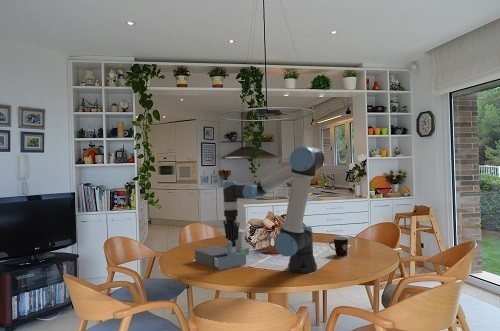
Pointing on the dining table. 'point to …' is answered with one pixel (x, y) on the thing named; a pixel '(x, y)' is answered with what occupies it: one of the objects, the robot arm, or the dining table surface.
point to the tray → (229, 259)
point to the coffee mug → (340, 246)
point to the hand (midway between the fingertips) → (232, 252)
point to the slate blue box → (209, 255)
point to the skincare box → (242, 242)
